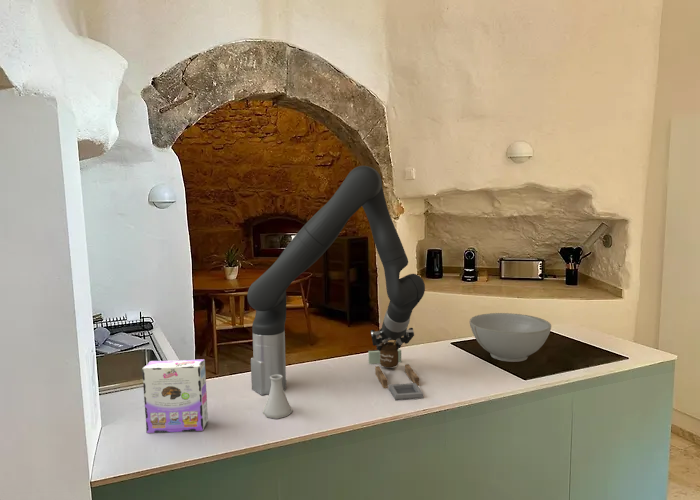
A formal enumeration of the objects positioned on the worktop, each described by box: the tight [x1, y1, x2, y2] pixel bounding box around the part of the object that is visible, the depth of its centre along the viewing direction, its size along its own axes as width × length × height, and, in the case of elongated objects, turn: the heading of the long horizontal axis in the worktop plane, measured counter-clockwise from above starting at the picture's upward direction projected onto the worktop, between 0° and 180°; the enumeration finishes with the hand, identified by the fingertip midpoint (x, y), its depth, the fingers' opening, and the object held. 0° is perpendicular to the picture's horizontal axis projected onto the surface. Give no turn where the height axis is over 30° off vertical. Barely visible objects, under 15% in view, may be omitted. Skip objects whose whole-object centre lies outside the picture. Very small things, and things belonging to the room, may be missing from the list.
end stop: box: [367, 348, 402, 365], centre depth 170 cm, size 2×11×4 cm, turn 98°
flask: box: [262, 374, 293, 420], centre depth 132 cm, size 7×7×10 cm
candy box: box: [141, 358, 209, 434], centre depth 124 cm, size 14×6×16 cm, turn 92°
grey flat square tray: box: [388, 382, 424, 401], centre depth 144 cm, size 8×8×1 cm
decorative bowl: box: [469, 312, 552, 363], centre depth 175 cm, size 27×27×12 cm
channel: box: [374, 363, 420, 389], centre depth 155 cm, size 12×11×2 cm
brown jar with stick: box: [380, 340, 399, 369], centre depth 164 cm, size 6×6×12 cm
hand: (387, 347), depth 166 cm, fingers closed on brown jar with stick, 5 cm apart
